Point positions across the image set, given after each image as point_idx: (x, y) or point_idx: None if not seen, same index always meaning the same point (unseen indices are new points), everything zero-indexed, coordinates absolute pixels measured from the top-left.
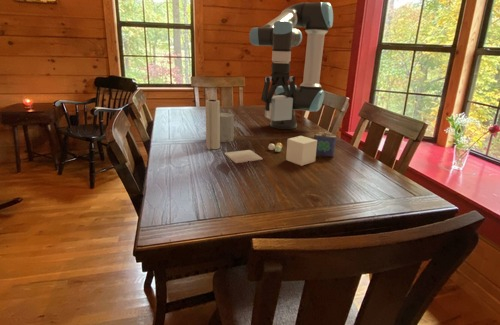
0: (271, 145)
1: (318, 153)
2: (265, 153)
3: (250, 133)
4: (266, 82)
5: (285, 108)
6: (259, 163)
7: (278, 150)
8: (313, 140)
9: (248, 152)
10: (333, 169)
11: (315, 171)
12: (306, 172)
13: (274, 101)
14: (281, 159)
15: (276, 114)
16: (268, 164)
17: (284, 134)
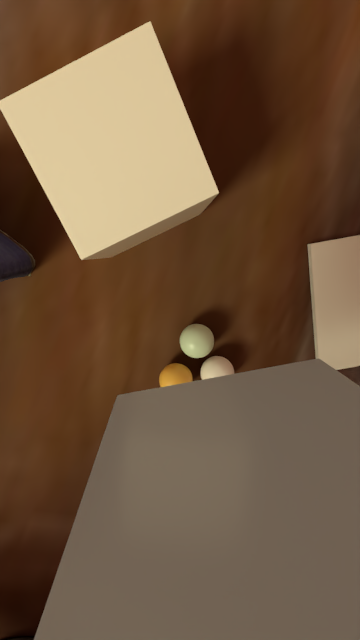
0: (225, 366)
1: (5, 240)
2: (260, 325)
3: None
4: None
5: (218, 465)
6: (341, 194)
7: (199, 324)
8: (31, 105)
9: (341, 335)
10: (7, 9)
11: (117, 5)
12: (170, 4)
13: None
14: (219, 227)
15: (335, 391)
16: (307, 171)
17: None
